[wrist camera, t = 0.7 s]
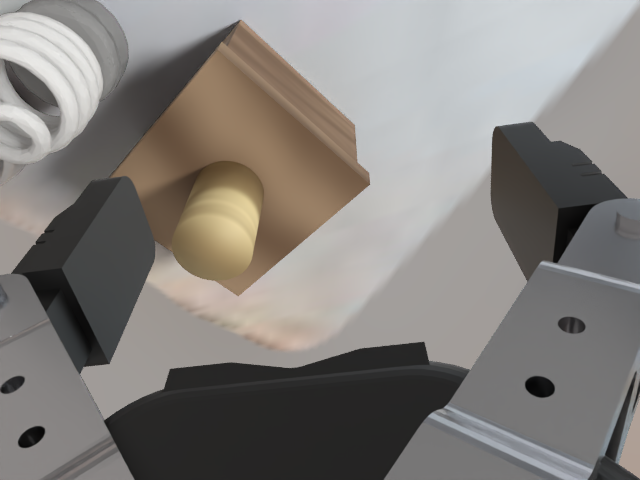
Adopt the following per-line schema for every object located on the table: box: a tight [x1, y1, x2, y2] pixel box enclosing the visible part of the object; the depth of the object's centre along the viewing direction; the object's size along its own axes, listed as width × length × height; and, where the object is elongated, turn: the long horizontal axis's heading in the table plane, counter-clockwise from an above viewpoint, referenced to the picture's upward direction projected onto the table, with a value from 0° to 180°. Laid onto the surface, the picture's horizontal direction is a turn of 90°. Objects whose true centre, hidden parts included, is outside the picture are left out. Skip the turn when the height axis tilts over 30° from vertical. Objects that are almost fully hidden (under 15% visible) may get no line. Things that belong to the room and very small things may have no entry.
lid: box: [109, 42, 370, 296], centre depth 27 cm, size 11×10×7 cm
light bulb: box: [0, 0, 129, 164], centre depth 26 cm, size 6×6×12 cm
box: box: [223, 20, 357, 162], centre depth 32 cm, size 10×9×6 cm
